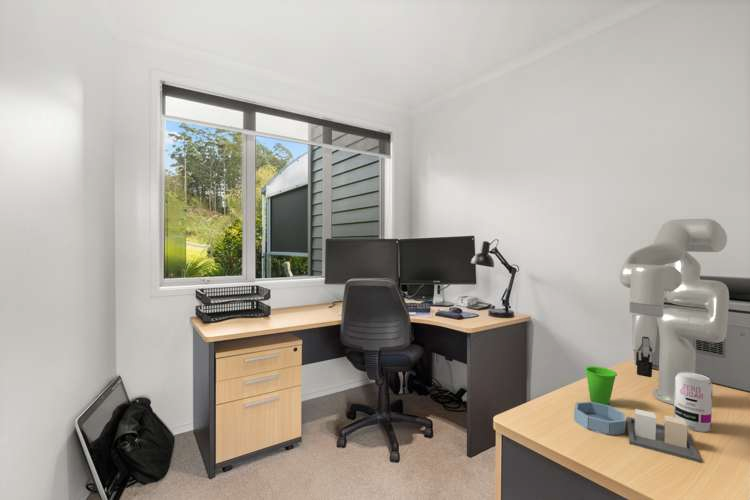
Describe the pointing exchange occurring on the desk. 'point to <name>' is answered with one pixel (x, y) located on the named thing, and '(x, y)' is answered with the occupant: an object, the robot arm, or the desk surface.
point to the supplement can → (693, 400)
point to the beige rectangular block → (675, 431)
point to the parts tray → (662, 443)
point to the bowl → (599, 418)
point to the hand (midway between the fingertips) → (643, 371)
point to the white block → (645, 424)
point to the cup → (600, 384)
